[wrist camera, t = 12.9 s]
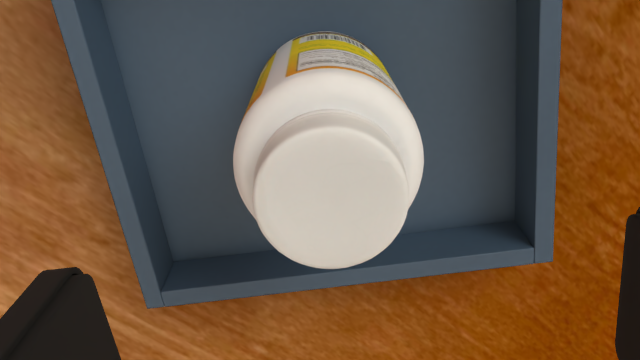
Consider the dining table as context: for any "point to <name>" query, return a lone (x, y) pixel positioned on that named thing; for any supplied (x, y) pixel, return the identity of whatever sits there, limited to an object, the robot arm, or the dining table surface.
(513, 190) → the tray
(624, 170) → the dining table surface
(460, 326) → the dining table surface
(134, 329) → the dining table surface
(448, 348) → the dining table surface
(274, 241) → the supplement bottle
